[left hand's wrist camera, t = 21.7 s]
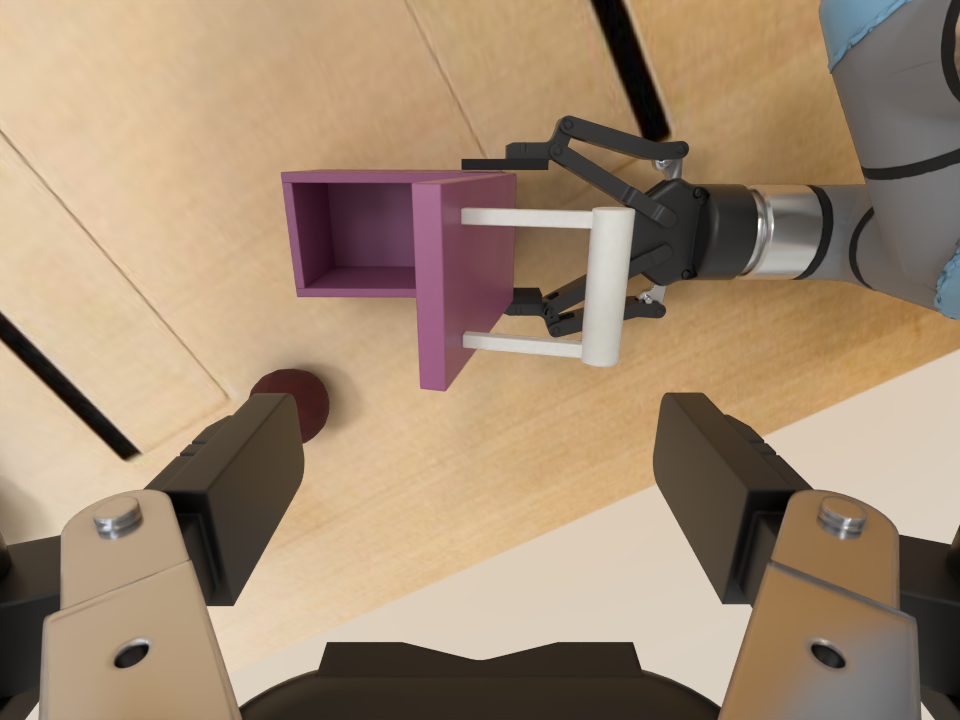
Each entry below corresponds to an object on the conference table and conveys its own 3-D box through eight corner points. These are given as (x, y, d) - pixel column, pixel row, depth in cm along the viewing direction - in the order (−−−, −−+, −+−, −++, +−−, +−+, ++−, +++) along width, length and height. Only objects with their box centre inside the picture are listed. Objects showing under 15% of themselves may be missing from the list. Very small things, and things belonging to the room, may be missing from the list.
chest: (330, 271, 49) (296, 297, 40) (320, 169, 46) (280, 172, 37) (499, 272, 49) (504, 298, 40) (501, 170, 46) (507, 173, 37)
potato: (319, 433, 55) (297, 470, 49) (253, 399, 54) (221, 432, 47) (350, 381, 53) (331, 413, 47) (281, 344, 52) (253, 371, 45)
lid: (419, 389, 24) (616, 411, 22) (410, 182, 21) (641, 186, 19) (496, 299, 40) (616, 307, 38) (498, 173, 36) (630, 174, 34)
